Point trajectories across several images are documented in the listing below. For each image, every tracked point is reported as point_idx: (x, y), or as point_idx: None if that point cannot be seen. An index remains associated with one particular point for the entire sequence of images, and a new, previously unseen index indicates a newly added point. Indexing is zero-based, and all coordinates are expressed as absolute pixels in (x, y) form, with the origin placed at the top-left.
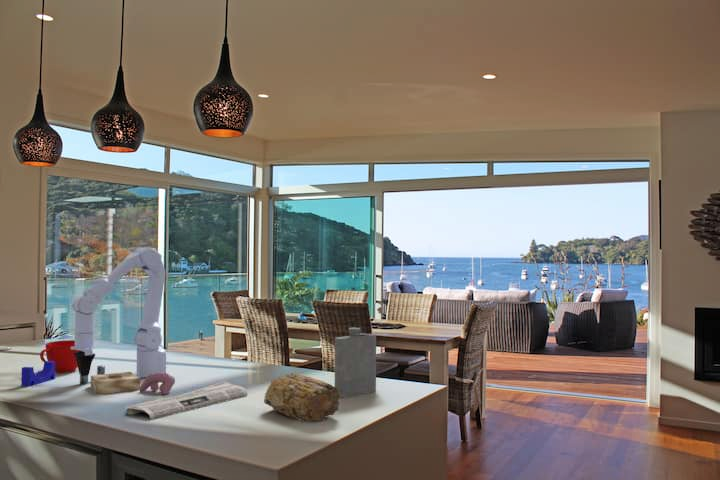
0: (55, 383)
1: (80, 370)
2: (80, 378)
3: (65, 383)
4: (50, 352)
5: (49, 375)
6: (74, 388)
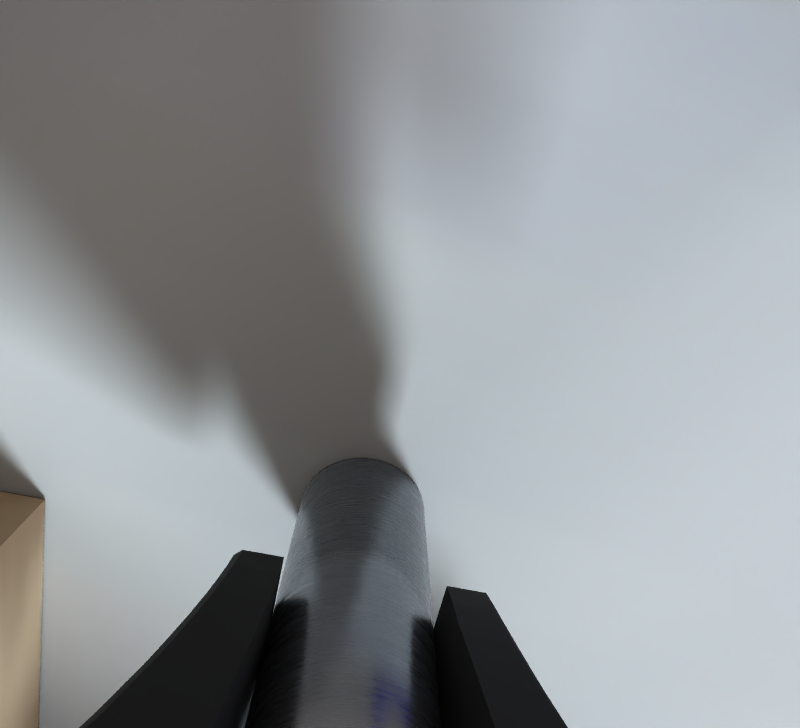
0: (795, 185)
1: (192, 619)
2: (342, 518)
3: (636, 320)
4: None
5: None
6: (75, 264)
